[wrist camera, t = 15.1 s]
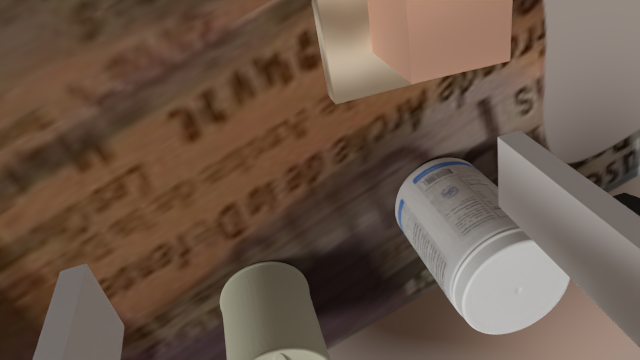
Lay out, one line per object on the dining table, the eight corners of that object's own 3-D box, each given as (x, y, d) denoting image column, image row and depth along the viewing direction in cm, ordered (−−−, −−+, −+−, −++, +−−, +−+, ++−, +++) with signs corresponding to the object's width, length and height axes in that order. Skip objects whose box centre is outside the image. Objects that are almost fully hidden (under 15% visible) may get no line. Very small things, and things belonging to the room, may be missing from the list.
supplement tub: (450, 243, 55) (529, 345, 42) (375, 224, 51) (437, 330, 39) (496, 166, 51) (598, 254, 39) (420, 140, 47) (504, 227, 35)
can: (304, 252, 51) (334, 341, 40) (312, 318, 55) (341, 413, 45) (212, 271, 49) (219, 369, 39) (228, 338, 54) (238, 441, 44)
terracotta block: (372, 52, 40) (411, 84, 33) (362, -44, 36) (404, -30, 29) (455, 33, 40) (509, 60, 34) (453, -62, 37) (515, -53, 30)
